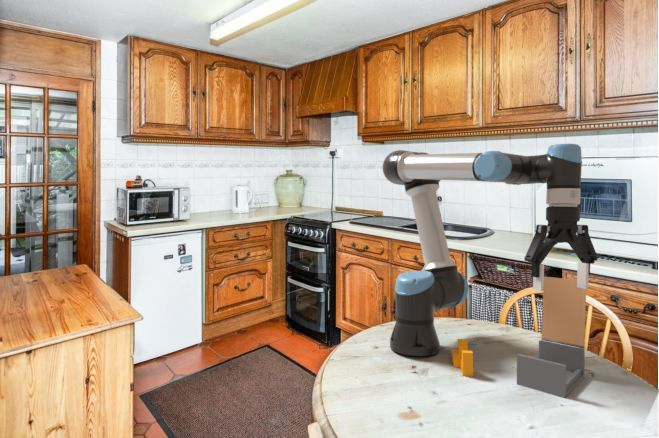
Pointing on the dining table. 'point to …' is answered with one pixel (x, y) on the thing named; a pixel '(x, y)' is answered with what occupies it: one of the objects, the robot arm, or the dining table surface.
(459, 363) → the pipe clamp
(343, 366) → the dining table surface
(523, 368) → the housing
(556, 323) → the tan rectangular panel
